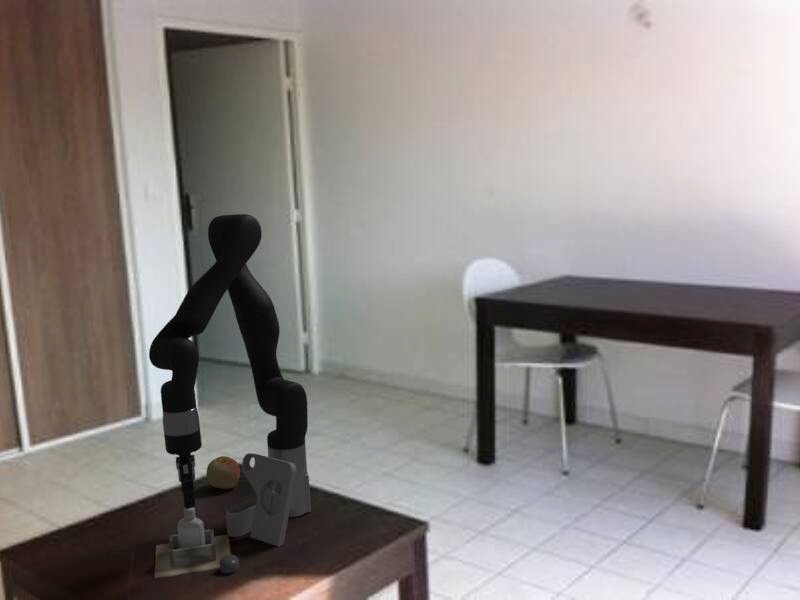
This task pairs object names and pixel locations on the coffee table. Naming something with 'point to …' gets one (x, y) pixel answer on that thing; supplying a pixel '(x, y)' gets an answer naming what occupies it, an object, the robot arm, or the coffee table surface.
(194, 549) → the glass box on tray
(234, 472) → the apple
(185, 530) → the eye dropper bottle
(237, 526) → the phone holder
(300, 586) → the coffee table surface
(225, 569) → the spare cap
